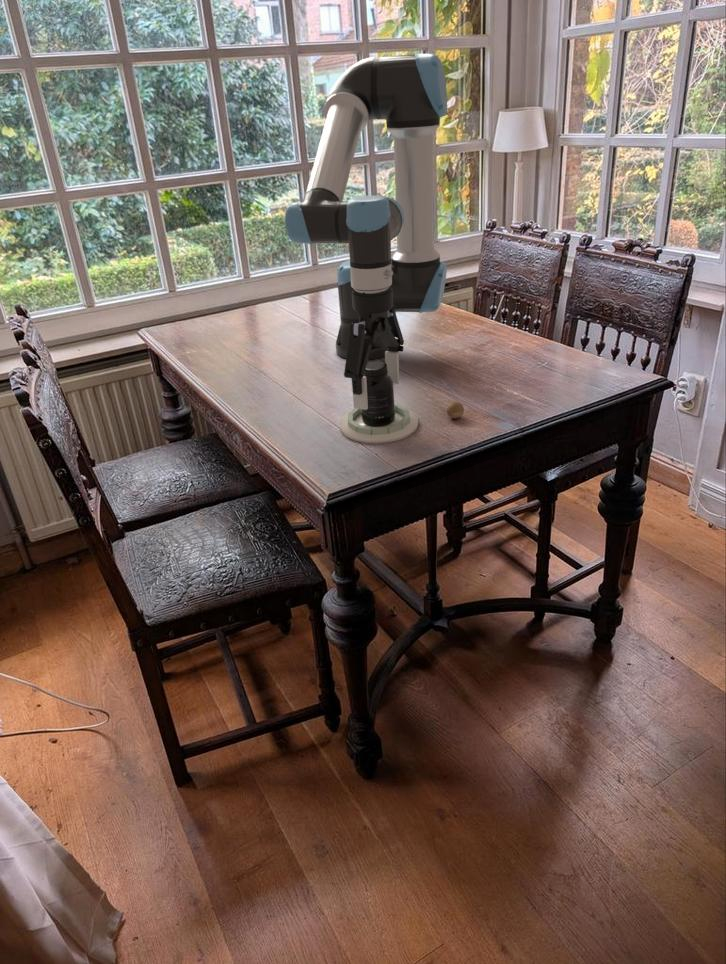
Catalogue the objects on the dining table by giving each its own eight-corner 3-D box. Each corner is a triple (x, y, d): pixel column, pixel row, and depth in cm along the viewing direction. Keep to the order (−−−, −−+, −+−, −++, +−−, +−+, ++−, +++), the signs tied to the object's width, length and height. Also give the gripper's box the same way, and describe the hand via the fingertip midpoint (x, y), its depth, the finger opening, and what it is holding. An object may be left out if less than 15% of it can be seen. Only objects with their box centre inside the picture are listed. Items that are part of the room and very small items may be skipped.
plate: (325, 434, 137) (324, 425, 135) (363, 404, 148) (362, 394, 147) (396, 449, 130) (396, 439, 128) (430, 415, 141) (430, 406, 140)
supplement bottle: (360, 415, 141) (356, 360, 135) (393, 411, 142) (390, 357, 135) (363, 429, 135) (358, 373, 129) (397, 426, 136) (394, 369, 130)
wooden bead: (443, 419, 139) (444, 404, 138) (450, 413, 142) (450, 397, 140) (459, 422, 138) (460, 406, 136) (466, 415, 140) (466, 400, 139)
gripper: (356, 309, 114) (363, 423, 125) (419, 272, 132) (420, 375, 143) (318, 305, 117) (328, 416, 128) (384, 270, 136) (389, 370, 146)
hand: (377, 394), depth 136 cm, fingers open, 13 cm apart
